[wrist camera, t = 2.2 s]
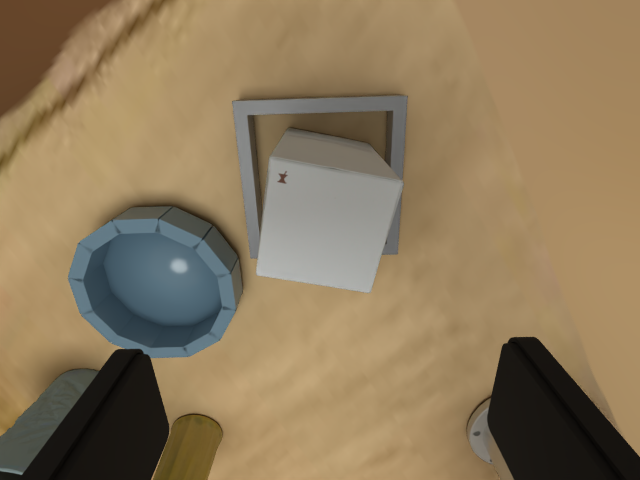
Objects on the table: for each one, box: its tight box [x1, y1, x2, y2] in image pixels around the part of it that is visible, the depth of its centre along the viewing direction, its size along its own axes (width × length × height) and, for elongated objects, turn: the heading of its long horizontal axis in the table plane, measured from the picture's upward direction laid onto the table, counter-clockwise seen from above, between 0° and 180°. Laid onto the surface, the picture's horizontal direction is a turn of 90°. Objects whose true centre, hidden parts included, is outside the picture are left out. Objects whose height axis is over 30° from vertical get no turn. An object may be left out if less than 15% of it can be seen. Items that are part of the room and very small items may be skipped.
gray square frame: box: [232, 95, 408, 258], centre depth 30 cm, size 13×13×2 cm
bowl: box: [68, 206, 243, 358], centre depth 33 cm, size 14×14×4 cm
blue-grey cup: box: [0, 369, 99, 480], centre depth 36 cm, size 10×10×12 cm
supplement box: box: [256, 128, 404, 293], centre depth 26 cm, size 7×7×13 cm
